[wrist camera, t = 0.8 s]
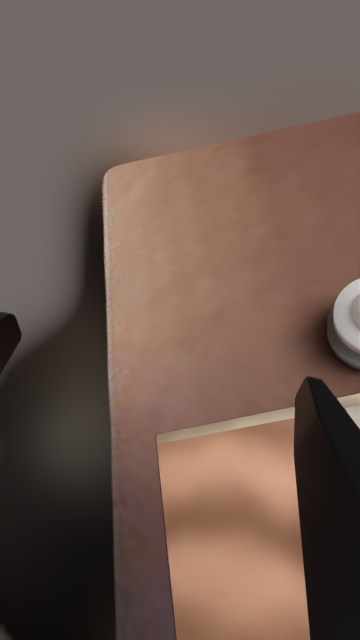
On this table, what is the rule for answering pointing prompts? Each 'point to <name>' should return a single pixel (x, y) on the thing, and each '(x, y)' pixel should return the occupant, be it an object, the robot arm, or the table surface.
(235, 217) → the table surface
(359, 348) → the dome
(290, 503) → the game board
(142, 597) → the table surface
